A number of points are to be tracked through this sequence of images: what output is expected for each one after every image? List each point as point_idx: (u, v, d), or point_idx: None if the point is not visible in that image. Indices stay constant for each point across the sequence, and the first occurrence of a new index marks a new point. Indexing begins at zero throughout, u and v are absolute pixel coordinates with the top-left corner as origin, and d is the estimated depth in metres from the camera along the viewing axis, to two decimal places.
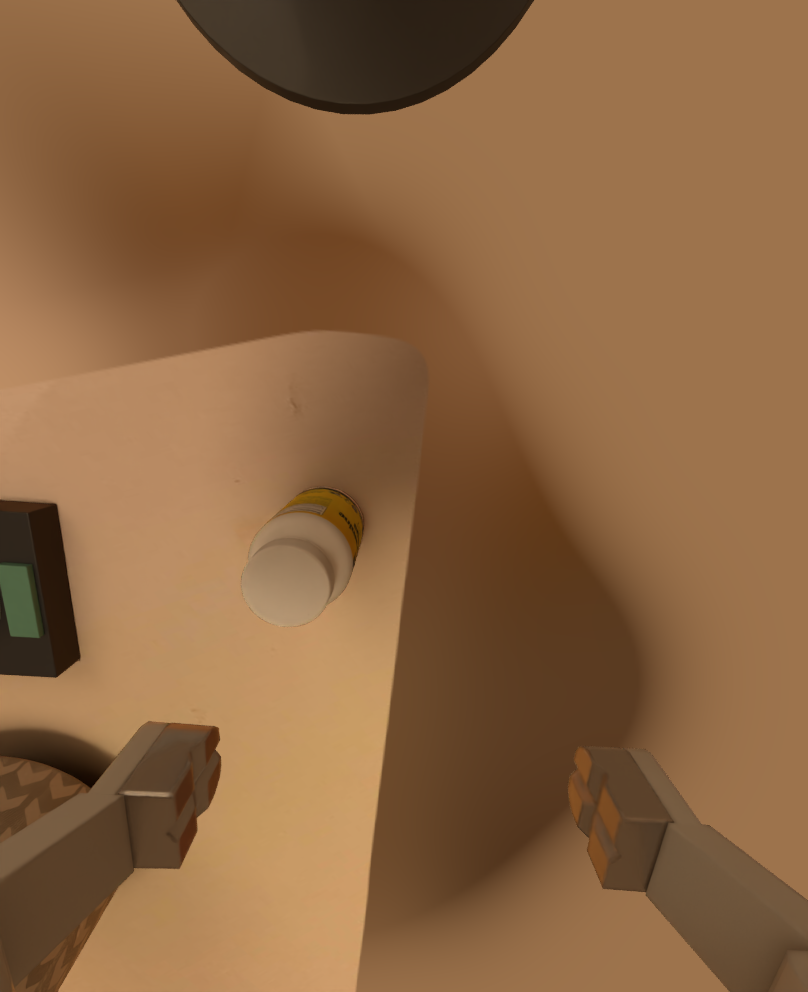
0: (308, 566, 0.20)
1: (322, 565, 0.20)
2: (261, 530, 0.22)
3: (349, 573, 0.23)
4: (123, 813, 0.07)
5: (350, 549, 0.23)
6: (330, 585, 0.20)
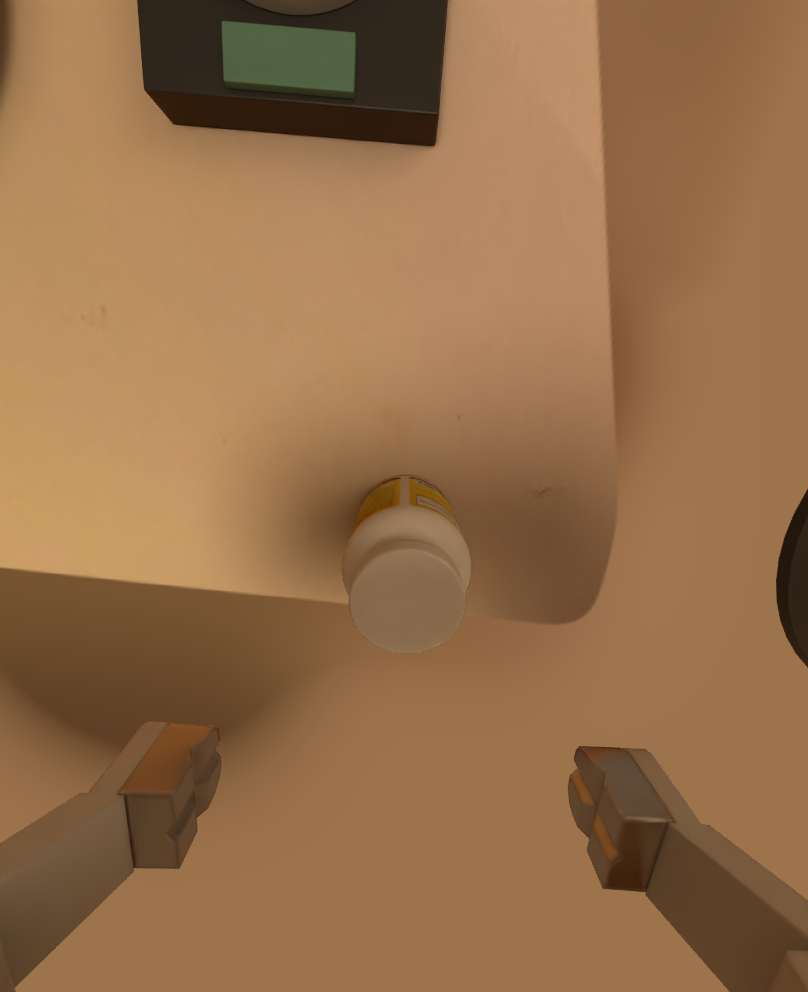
0: (436, 632, 0.16)
1: None
2: (454, 531, 0.17)
3: None
4: (123, 813, 0.07)
5: None
6: (408, 652, 0.16)
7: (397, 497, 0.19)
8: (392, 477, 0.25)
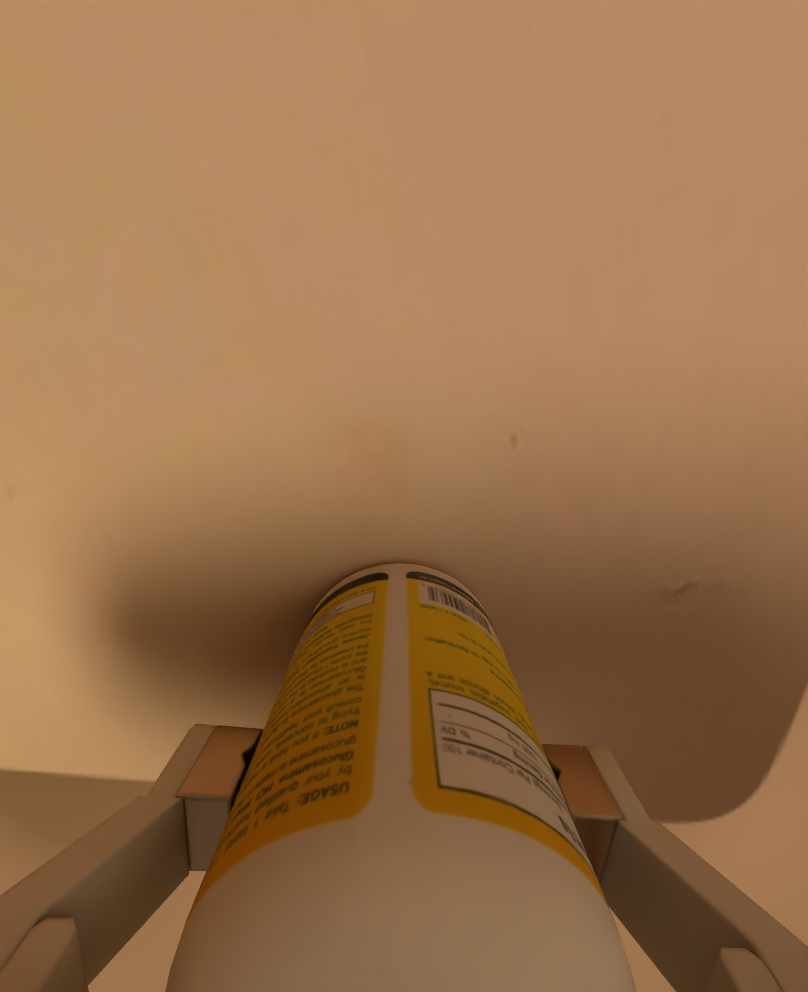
0: None
1: None
2: (593, 936, 0.04)
3: None
4: (182, 816, 0.07)
5: None
6: None
7: (372, 709, 0.06)
8: (371, 568, 0.11)
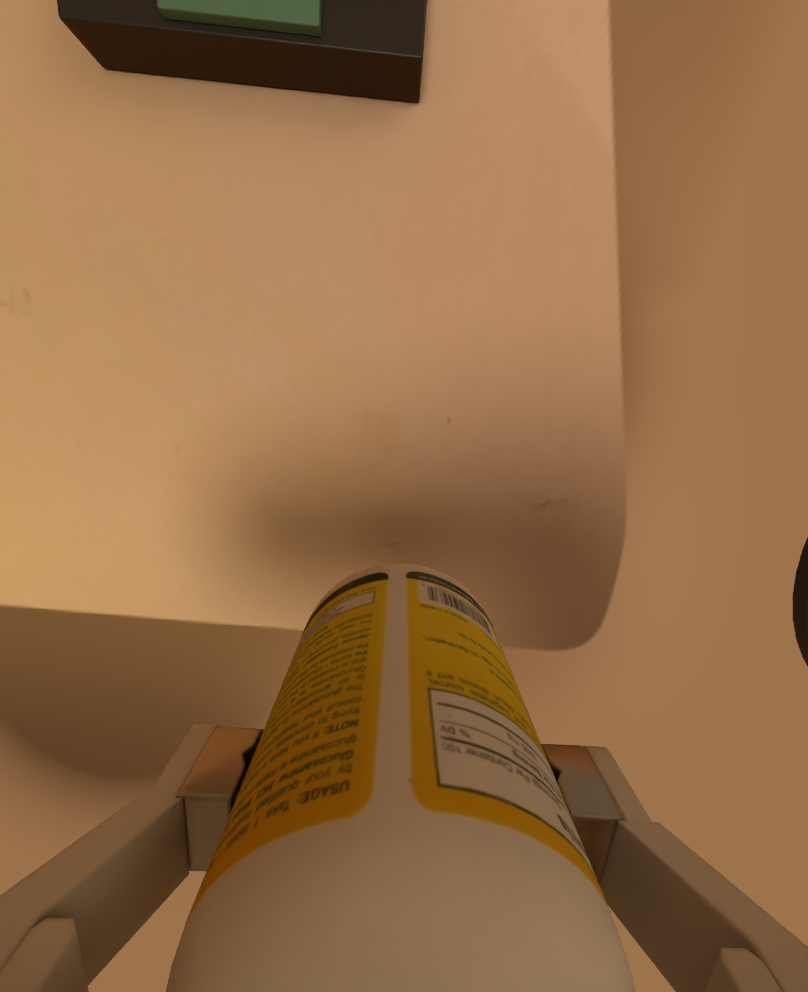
0: None
1: None
2: (592, 934, 0.04)
3: None
4: (181, 816, 0.07)
5: None
6: None
7: (372, 708, 0.06)
8: (371, 568, 0.12)
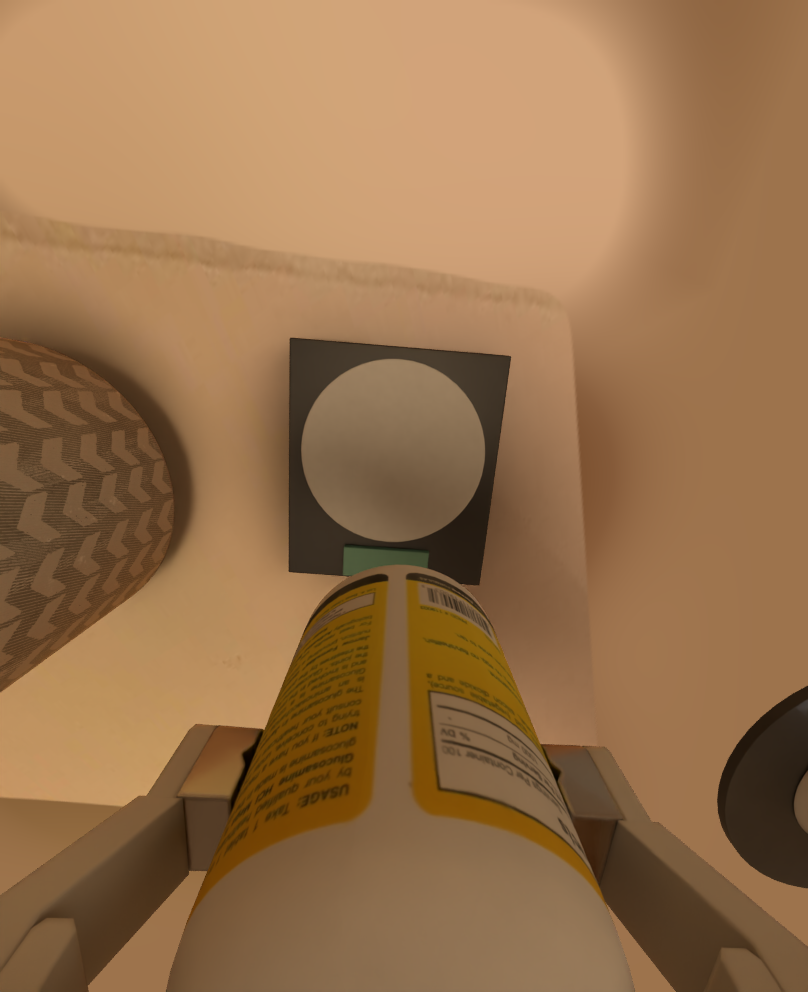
0: None
1: None
2: (592, 939, 0.04)
3: None
4: (182, 816, 0.07)
5: None
6: None
7: (371, 711, 0.06)
8: (371, 570, 0.11)
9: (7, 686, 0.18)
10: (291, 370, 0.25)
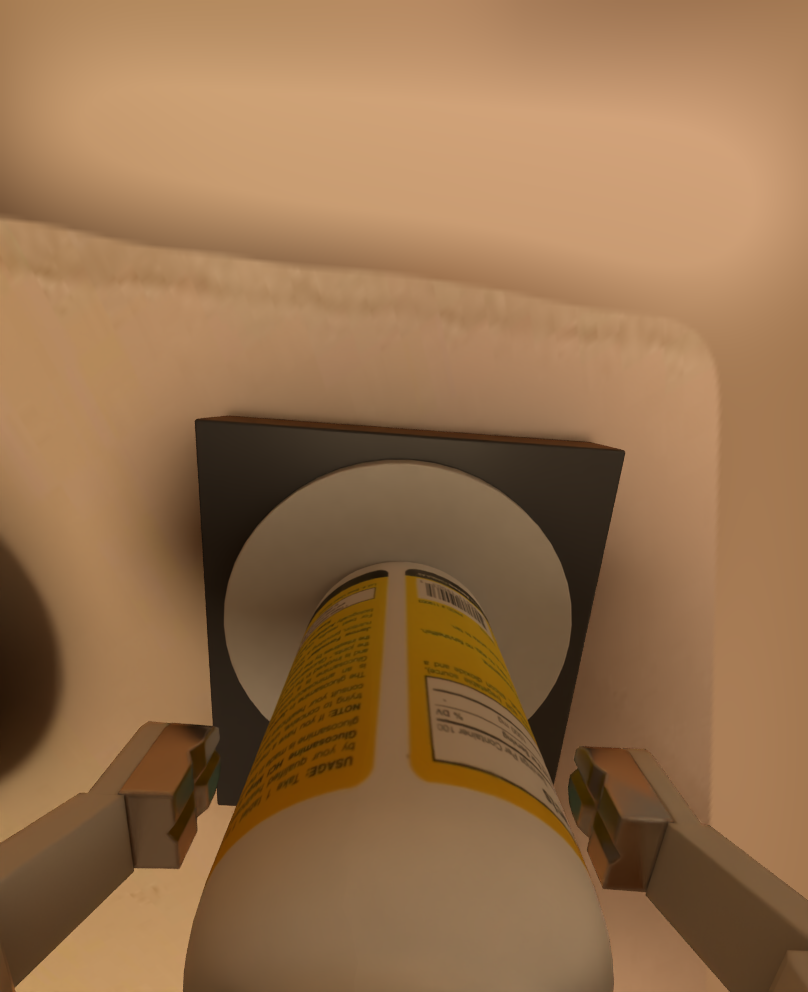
0: None
1: None
2: (570, 890, 0.05)
3: None
4: (123, 813, 0.07)
5: None
6: None
7: (373, 694, 0.07)
8: (371, 566, 0.12)
9: None
10: (201, 479, 0.13)
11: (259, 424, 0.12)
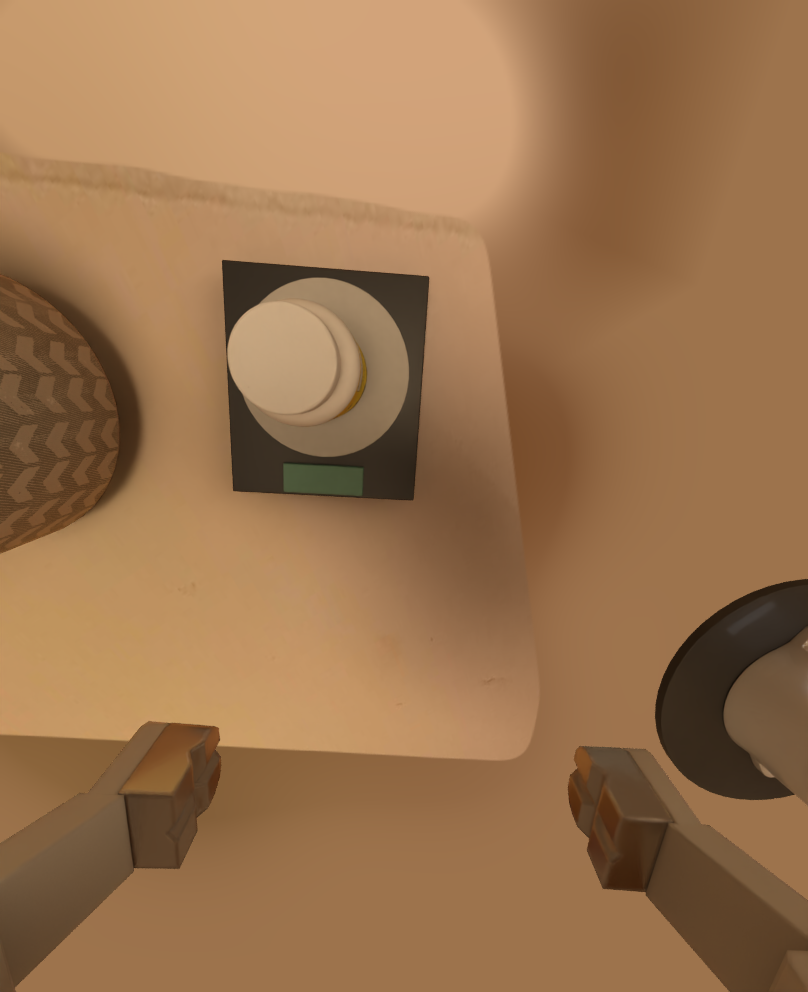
0: (312, 390, 0.17)
1: (314, 406, 0.17)
2: (339, 320, 0.19)
3: (291, 424, 0.20)
4: (123, 813, 0.07)
5: None
6: (289, 414, 0.17)
7: None
8: None
9: None
10: (225, 291, 0.26)
11: None
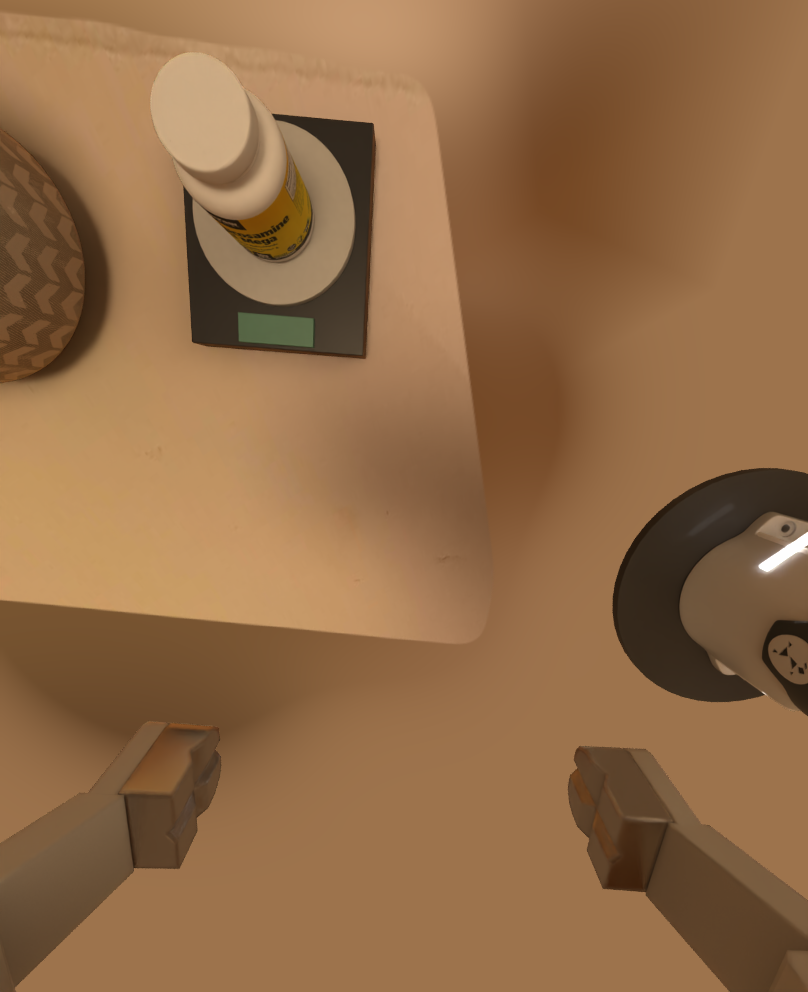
0: (228, 145, 0.18)
1: (231, 163, 0.19)
2: (263, 104, 0.20)
3: (222, 212, 0.21)
4: (123, 813, 0.07)
5: (249, 217, 0.22)
6: (208, 172, 0.19)
7: None
8: None
9: None
10: None
11: None
